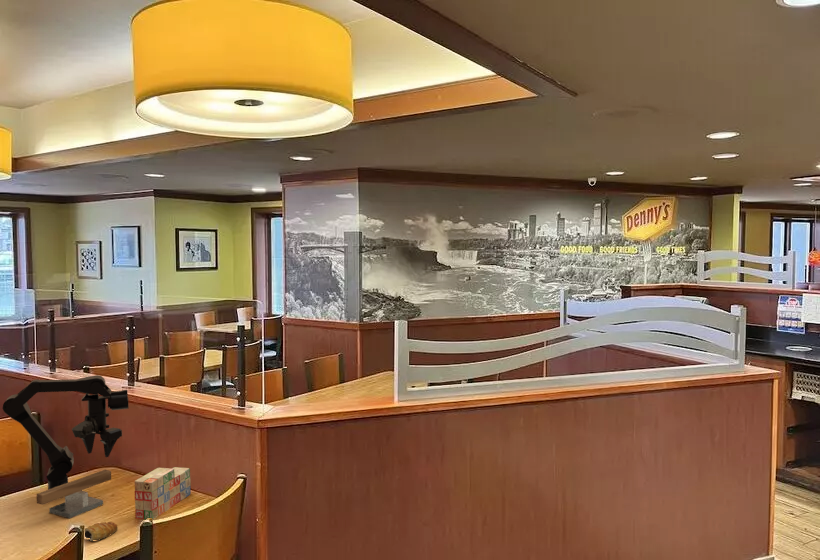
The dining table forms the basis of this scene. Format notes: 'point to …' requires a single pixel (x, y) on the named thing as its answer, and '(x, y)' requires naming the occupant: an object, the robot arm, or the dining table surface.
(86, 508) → the fulcrum stand
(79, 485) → the walnut rod
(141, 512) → the stack of blocks
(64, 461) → the robot arm
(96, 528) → the pastry
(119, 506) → the dining table surface
